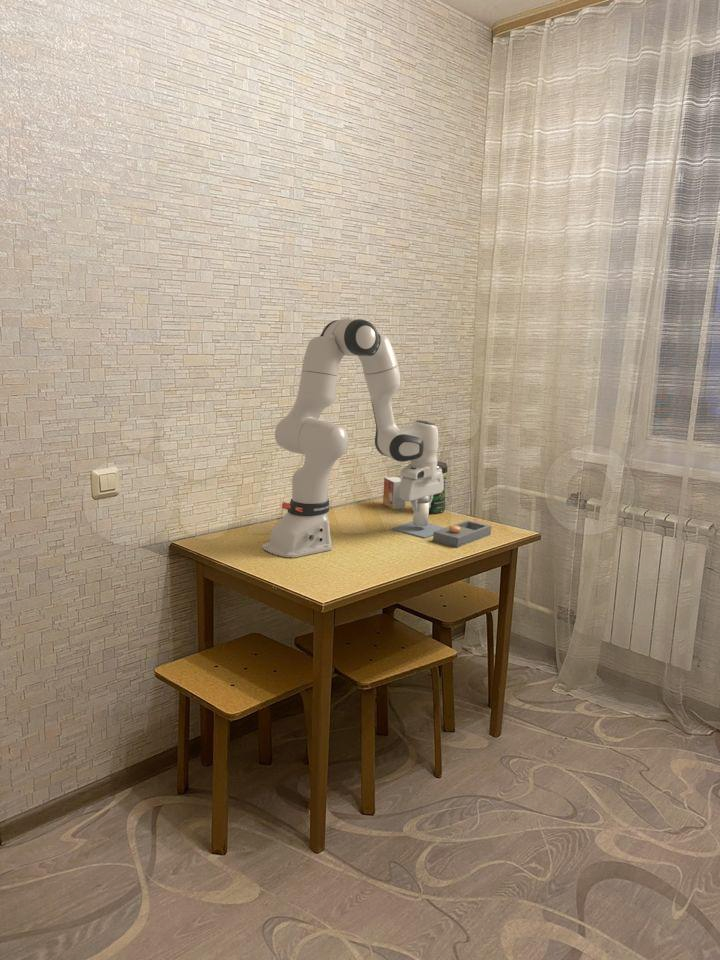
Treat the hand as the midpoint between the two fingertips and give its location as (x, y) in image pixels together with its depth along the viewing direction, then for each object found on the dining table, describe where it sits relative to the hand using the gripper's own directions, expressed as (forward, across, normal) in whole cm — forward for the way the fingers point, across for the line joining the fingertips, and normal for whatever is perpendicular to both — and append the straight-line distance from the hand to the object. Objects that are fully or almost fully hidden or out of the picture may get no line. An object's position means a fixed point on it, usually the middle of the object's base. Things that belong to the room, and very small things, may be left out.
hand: (421, 509), depth 249 cm
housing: (+7, -3, +15) cm, 17 cm away
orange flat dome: (+4, +2, +15) cm, 16 cm away
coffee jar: (+7, -22, -11) cm, 26 cm away
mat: (+7, 0, 0) cm, 7 cm away
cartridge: (+5, 0, 0) cm, 5 cm away
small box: (+7, -17, -25) cm, 31 cm away
